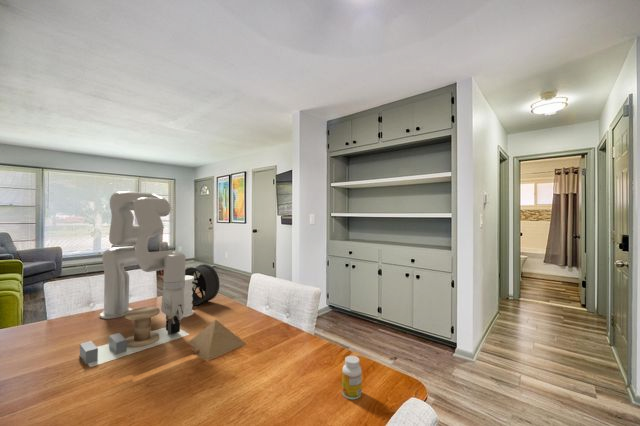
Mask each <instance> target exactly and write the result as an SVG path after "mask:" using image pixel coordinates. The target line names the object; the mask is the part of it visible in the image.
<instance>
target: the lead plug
mask: <svg viewBox="0 0 640 426" xmlns="http://www.w3.org/2000/svg"><path fill="white" fill-rule="evenodd" d="M176 314H177V313H176ZM177 317H178V316H177ZM177 317H175V318H177ZM171 324H172V317H170V316H168V334H171ZM174 334H176V333H174Z"/></svg>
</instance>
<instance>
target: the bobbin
mask: <svg viewBox="0 0 640 426" xmlns="http://www.w3.org/2000/svg"><path fill="white" fill-rule="evenodd" d="M160 311H161V309H160V307H155V306H154V307H153V306H147V307H146V306H145V307H138V308H135V309H132V310H131V311H128V312H127V313H126V314H125V316H124V319H126V320H129V321H132V320H133V322H134V324H133V335H130V336H128V337H127V347H132V348H134V347H142V346H146V345H150V344H152V343H154V342H156V341H157V340H158V339H159V334H158V333H156V332H151V327H152V325H151V324H152V323H151V322H152V320H151V318H153V317H155V316H156V317H157V315H159V314H160V313H161V312H160Z"/></svg>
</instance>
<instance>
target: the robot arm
mask: <svg viewBox="0 0 640 426" xmlns="http://www.w3.org/2000/svg"><path fill="white" fill-rule="evenodd" d="M109 207H110V208H109V209H110V212H111V219H110V226H109V233H108V235H109V236H108V240H109V243H110V244H111V245H113V246H118V247H111V248H107V249H106V250H105V251H104V252H103V253H102V257H101V258H102V260H101V261H102V265H103V273H104V276H103V277H104V289H103V291H104V293H103V297H104V298H103V311H102V312H101V313H99V318H100V319H105V320H108V319H109V320H110V319H111V320H112V319H119V318H122V317H123V318H124V317H125V314H126V313H127V312H128V311H131V310H133V308H131V307H129V306H130V300H129V299H130V274H129V273H128V271H127V270H126V269H125V267H132V266H139V268H140V270H142V271H143V272H146V273H148V272H149V273H152V272H157V271H162V270H163V280H162V281H163V283H162V285H163V287H162V288H163V289H162V298H161V307H160V308H161V309H160V311H161V312H162V313H163V314H165V322H166V323H165V327H166V330H167V331H168V316H170V317H172V324H171V334H174V333H177V332H180V329H181V322H182V321H181V320H182V319H184V317H183V315H182V314H183V313H184V290H183V289H184V288H185V269H186V255H185V254H184V253H183V252H182V253H181V252H177V251H174V250H169V249H168V250H161V251H149V249H148V247H149V246H148V245H149V240H150V239H152V238H154V237H155V236H158V235H159V234H161V233H163V231H164V229H165V226H164V223H163V221H162V218H164V217H168V216H169V215H170V213H171V204H170V202H169V201H168V200H167V199H166V198H164V197H162V196H159V195H157V194H155V193H152V192H139V191H126V190H125V191H123V190H122V191H116V192H114V193H113V194H112V195H111V196H110V198H109ZM132 211H133V212H134V213H133V212H132ZM134 215H135V217H134ZM134 218H136V221H137V223H138V224H134V220H135V219H134ZM176 313H177V314H176ZM177 316H178V317H177ZM175 317H177V318H175Z"/></svg>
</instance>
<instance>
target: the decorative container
mask: <svg viewBox="0 0 640 426" xmlns="http://www.w3.org/2000/svg"><path fill="white" fill-rule="evenodd" d="M194 279H195V276H194V275H193V276H189V275H185V288H184V289H183V290H184V313H183V314H182V315H183V318H187V317H190V316H192V315H193V314H195V311H194V310H193V306H194V305H192V301H193V297H192V294H193V291H192V288H194V284H192V281H193V282H195V280H194Z"/></svg>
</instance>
